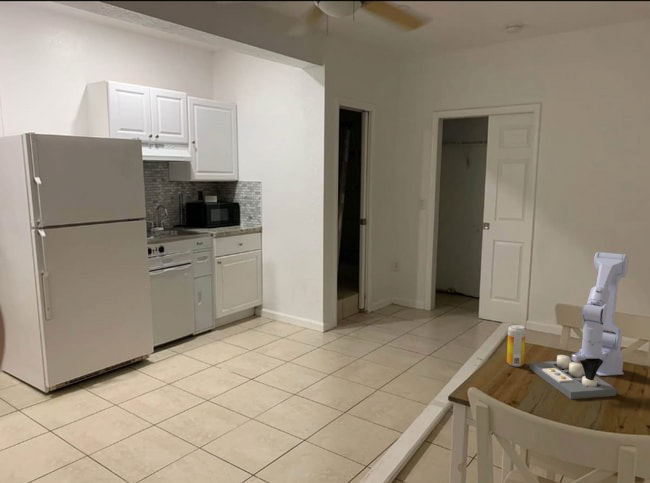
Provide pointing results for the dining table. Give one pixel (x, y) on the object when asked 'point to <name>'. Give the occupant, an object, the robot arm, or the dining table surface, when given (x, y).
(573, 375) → the button
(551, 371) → the tile
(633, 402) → the dining table surface
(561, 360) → the button
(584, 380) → the button
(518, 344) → the beer can
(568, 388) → the board
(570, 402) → the dining table surface
